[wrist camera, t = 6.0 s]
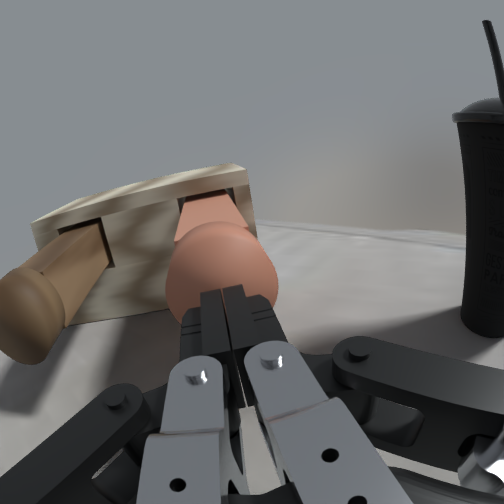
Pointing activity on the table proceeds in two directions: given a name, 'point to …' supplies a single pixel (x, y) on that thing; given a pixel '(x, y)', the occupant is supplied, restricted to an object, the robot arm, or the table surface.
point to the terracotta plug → (215, 254)
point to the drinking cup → (484, 205)
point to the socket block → (140, 235)
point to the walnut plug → (50, 290)
